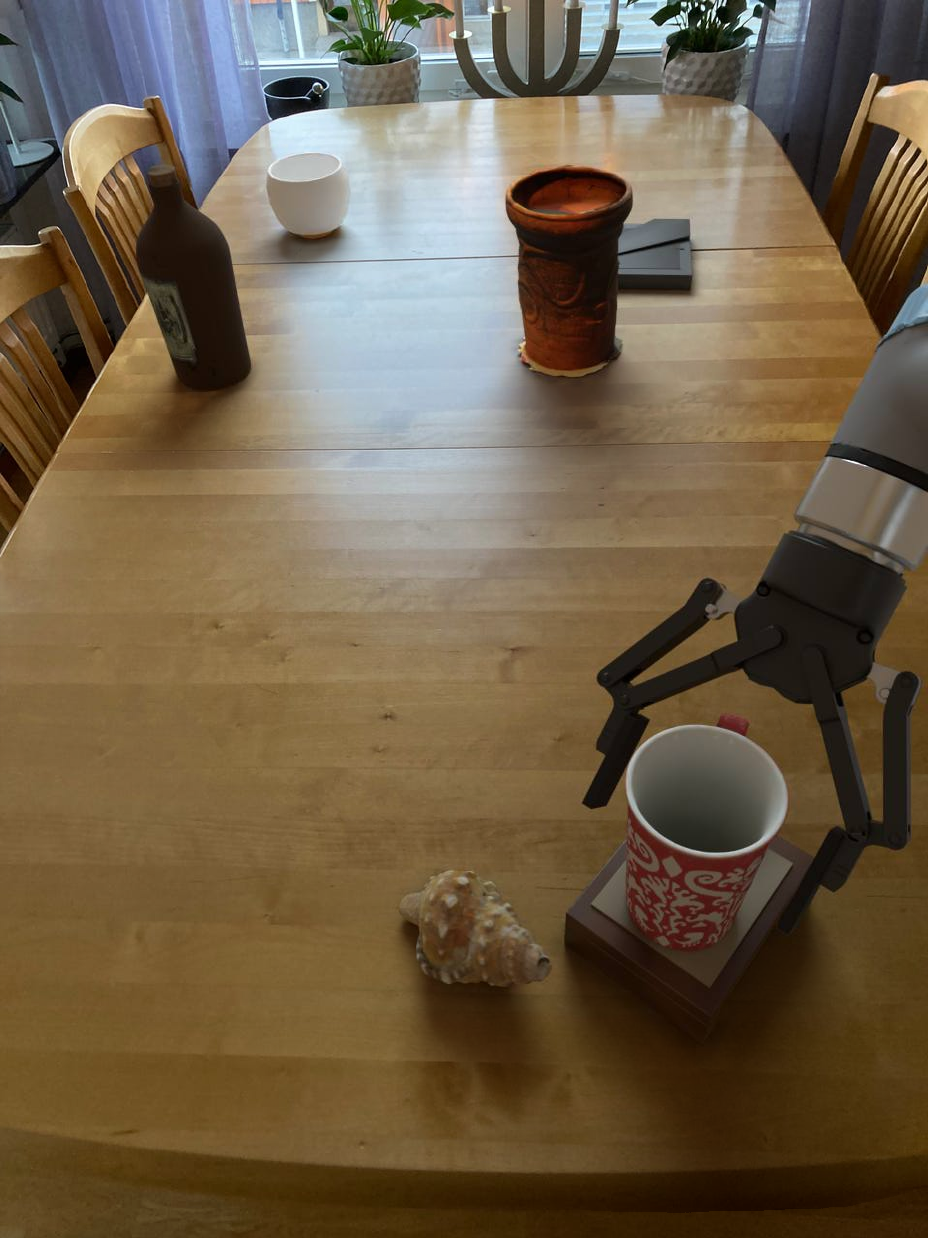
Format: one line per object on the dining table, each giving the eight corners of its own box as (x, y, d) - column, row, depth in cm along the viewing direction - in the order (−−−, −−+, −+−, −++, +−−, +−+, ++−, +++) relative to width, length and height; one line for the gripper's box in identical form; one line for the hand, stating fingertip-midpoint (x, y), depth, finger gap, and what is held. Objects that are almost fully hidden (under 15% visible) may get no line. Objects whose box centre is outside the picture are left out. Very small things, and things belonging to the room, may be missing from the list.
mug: (725, 992, 60) (762, 884, 50) (590, 929, 63) (600, 816, 54) (783, 833, 67) (824, 712, 58) (659, 785, 71) (679, 662, 61)
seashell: (528, 917, 72) (583, 902, 64) (481, 1021, 69) (533, 1020, 60) (424, 853, 72) (465, 829, 63) (370, 954, 68) (406, 944, 59)
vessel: (491, 335, 125) (485, 177, 111) (590, 310, 129) (597, 153, 114) (536, 390, 116) (536, 226, 102) (642, 362, 119) (657, 198, 105)
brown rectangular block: (803, 890, 69) (817, 856, 66) (702, 1045, 62) (711, 1016, 59) (671, 809, 75) (677, 773, 71) (563, 943, 68) (565, 911, 64)
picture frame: (687, 237, 142) (545, 236, 144) (689, 218, 140) (546, 217, 142) (690, 289, 131) (537, 287, 134) (692, 269, 129) (537, 267, 132)
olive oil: (223, 340, 128) (172, 143, 110) (273, 367, 123) (229, 164, 105) (156, 375, 123) (91, 173, 105) (205, 404, 118) (146, 197, 100)
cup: (274, 219, 154) (261, 156, 147) (350, 209, 155) (342, 146, 148) (277, 253, 145) (264, 188, 138) (359, 242, 146) (350, 177, 139)
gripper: (1072, 651, 54) (888, 972, 57) (682, 485, 66) (548, 758, 69) (1080, 641, 47) (872, 1004, 50) (646, 460, 59) (499, 763, 62)
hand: (684, 863), depth 60 cm, fingers open, 13 cm apart
